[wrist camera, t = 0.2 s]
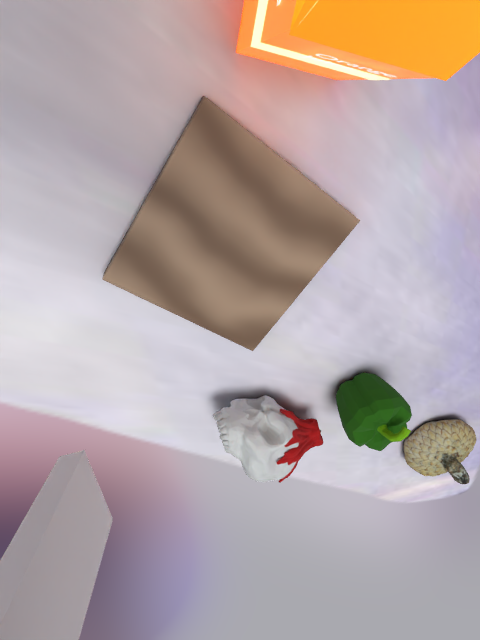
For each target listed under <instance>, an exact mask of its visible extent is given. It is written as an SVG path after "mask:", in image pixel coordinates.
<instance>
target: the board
mask: <svg viewBox="0 0 480 640" xmlns="http://www.w3.org/2000/svg"><path fill="white" fill-rule="evenodd" d="M359 221H360V220H359V219H357V218H356V217H355V216H354V215H352V214H351V213H350V212H349V211H347V210H346V209H345V208H344V207H342V206H341V205H340V204H339V203H338V202H336V201H335V200H334V199H333V198H331V197H330V196H329V195H328V194H326V193H325V192H324V191H323V190H321V189H320V188H319V187H318V186H316V185H315V184H314V183H313V182H311V181H310V180H309V179H308V178H306V177H305V176H304V175H303V174H301V173H300V172H299V171H298V170H296V169H295V168H294V167H293V166H291V165H290V164H289V163H288V162H286V161H285V160H284V159H283V158H281V157H280V156H279V155H278V154H276V153H275V152H274V151H273V150H271V149H270V148H269V147H268V146H266V145H265V144H264V143H263V142H261V141H260V140H259V139H258V138H256V137H255V136H254V135H253V134H251V133H250V132H249V131H248V130H246V129H245V128H244V127H243V126H241V125H240V124H239V123H238V122H236V121H235V120H234V119H233V118H231V117H230V116H229V115H228V114H226V113H225V112H224V111H223V110H221V109H220V108H219V107H218V106H216V105H215V104H214V103H213V102H211V101H210V100H209V99H208V98H206V97H205V96H203V98H202V99H201V101H200V103H199V105H198V106H197V108H196V110H195V112H194V114H193V115H192V117H191V119H190V121H189V122H188V124H187V126H186V128H185V130H184V131H183V133H182V135H181V137H180V139H179V140H178V142H177V144H176V146H175V147H174V149H173V151H172V153H171V155H170V156H169V158H168V160H167V162H166V164H165V165H164V167H163V169H162V171H161V172H160V174H159V176H158V178H157V180H156V181H155V183H154V185H153V187H152V188H151V190H150V192H149V194H148V196H147V197H146V199H145V201H144V203H143V205H142V206H141V208H140V210H139V212H138V213H137V215H136V217H135V219H134V221H133V222H132V224H131V226H130V228H129V229H128V231H127V233H126V235H125V237H124V238H123V240H122V242H121V244H120V246H119V247H118V249H117V251H116V253H115V254H114V256H113V258H112V260H111V262H110V263H109V265H108V267H107V269H106V271H105V272H104V275H103V280H105V281H107V282H109V283H111V284H113V285H115V286H117V287H119V288H121V289H124V290H126V291H128V292H130V293H132V294H134V295H136V296H138V297H140V298H142V299H145V300H147V301H149V302H151V303H153V304H155V305H157V306H159V307H161V308H163V309H166V310H168V311H170V312H172V313H174V314H176V315H178V316H180V317H182V318H184V319H187V320H189V321H191V322H193V323H195V324H197V325H199V326H201V327H203V328H205V329H208V330H210V331H212V332H214V333H216V334H218V335H220V336H222V337H224V338H226V339H229V340H231V341H233V342H235V343H237V344H239V345H241V346H243V347H245V348H247V349H250V350H252V351H253V350H254V349H255V348H256V346H257V345H258V344H259V343H260V342H261V340H262V339H263V338H264V337H265V336H266V334H267V333H268V332H269V331H270V329H271V328H272V327H273V326H274V325H275V323H276V322H277V321H278V320H279V319H280V317H281V316H282V315H283V314H284V312H285V311H286V310H287V309H288V308H289V306H290V305H291V304H292V303H293V302H294V300H295V299H296V298H297V297H298V295H299V294H300V293H301V292H302V291H303V289H304V288H305V287H306V286H307V285H308V283H309V282H310V281H311V280H312V278H313V277H314V276H315V275H316V274H317V272H318V271H319V270H320V269H321V268H322V266H323V265H324V264H325V263H326V261H327V260H328V259H329V258H330V257H331V255H332V254H333V253H334V252H335V251H336V249H337V248H338V247H339V246H340V244H341V243H342V242H343V241H344V240H345V238H346V237H347V236H348V235H349V234H350V232H351V231H352V230H353V229H354V228H355V226H356V225H357V224H358V223H359Z"/></svg>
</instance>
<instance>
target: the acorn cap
mask: <svg viewBox="0 0 480 640" xmlns="http://www.w3.org/2000/svg"><path fill="white" fill-rule="evenodd" d="M475 443H476V435H475V432H474V430H473V428H472V427H470V426H469V425H467V424H466V423H464V422H463V421H461V420H459V419H454V420H440V421H436V422H428V423H425V424H424V425H422V426H420V427H419V428H418V429H417V430H415V431H414V433H413V434H411V435H410V436H409V437H408V438H406V439H405V442H404V453H405V460H406V462H407V464H408V465H409V466H410V467H411V468H412V469H414V470H415V471H417V472H419V473H420V474H422V475H424V476H436V475H440V474H443V473H446V472H449V473H450V474H451V475H452V477H453V478H454V480H455V481H457V482H458V483H460V484H467V483H469V475H468V473H467V472H466V470H465V468H464V467H463V466H462V464H461V462H462V461H463V460H464V459H465V458H466V457H467V456H468V455H469V453H470V452H471V451H472V450H473V447H474V445H475Z"/></svg>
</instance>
